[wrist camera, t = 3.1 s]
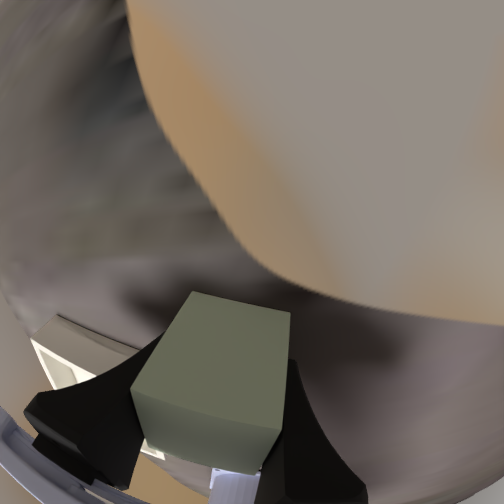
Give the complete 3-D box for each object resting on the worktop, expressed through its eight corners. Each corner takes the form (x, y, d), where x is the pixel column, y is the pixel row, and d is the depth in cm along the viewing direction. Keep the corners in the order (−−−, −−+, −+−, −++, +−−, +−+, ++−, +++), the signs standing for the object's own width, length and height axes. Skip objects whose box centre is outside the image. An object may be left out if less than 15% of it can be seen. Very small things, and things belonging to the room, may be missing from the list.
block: (270, 377, 14) (254, 475, 8) (189, 358, 14) (148, 447, 8) (290, 312, 12) (281, 429, 6) (192, 290, 12) (130, 388, 7)
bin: (176, 431, 18) (165, 460, 15) (84, 392, 19) (68, 414, 16) (170, 360, 14) (150, 398, 12) (56, 314, 15) (30, 338, 12)
